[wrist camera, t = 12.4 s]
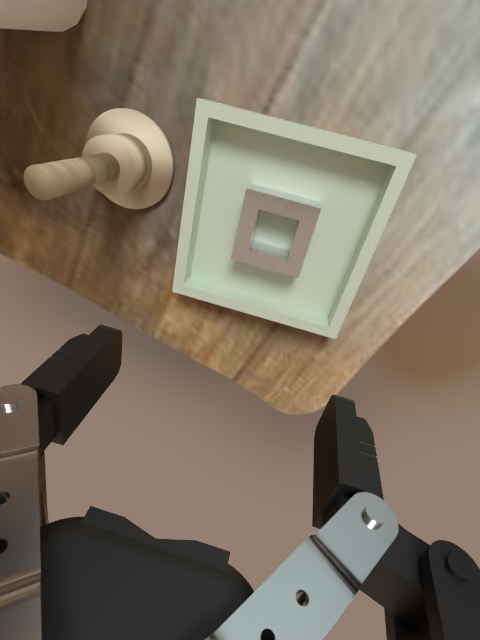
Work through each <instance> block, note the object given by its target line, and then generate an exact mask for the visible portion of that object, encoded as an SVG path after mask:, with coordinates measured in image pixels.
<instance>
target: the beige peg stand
mask: <svg viewBox="0 0 480 640" xmlns="http://www.w3.org/2000/svg"><path fill="white" fill-rule="evenodd" d="M174 168H175V166H174V156H173V152H172V148H171V146H170V143H169V141H168V139H167V137H166V135H165V134H164V132H163V131H162V129H161V128H160V127H159V126H158V125H157V123H156V122H154V121H153V120H152V119H151V118H150V117H148V116H147V115H145V114H143V113H141V112H139V111H136V110H133V109H127V108H117V109H111V110H108V111H106V112H104V113H102V114H101V115H100V116H98V117H97V118H96V119H95V120H94V122H93V123H92V125H91V126H90V128H89V130H88V133H87V136H86V142H85V147H84V149H83V153H82V157H77V158H71V159H65V160H59V161H54V162H48V163H42V164H36V165H31V166H29V167H27V168H26V170H25V172H24V183H25V186H26V188H27V189H28V191H29V192H30V193H31V195H33V196H34V197H35V198H37V199H39V200H42V201H47V200H50V199H53V198H57V197H60V196H63V195H66V194H70V193H73V192H76V191H79V190H83V189H86V188H89V187H92V186H94V187H95V188H96V189H97V190H98V191H100V192H101V193H103V194H104V195H105V196H106V197H107V198H108V199H110V200H111V201H113V202H114V203H116V204H118V205H120V206H122V207H125V208H129V209H144V208H147V207H150V206H152V205H154V204H156V203H157V202H159V201H160V200H161V199H163V197H164V196H165V195H166V194H167V192H168V191H169V189H170V187H171V185H172V181H173V177H174Z"/></svg>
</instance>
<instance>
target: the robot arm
mask: <svg viewBox="0 0 480 640" xmlns="http://www.w3.org/2000/svg"><path fill="white" fill-rule="evenodd" d="M121 355H122V332H121V330H118V329H114V328H111V327H108V326H104V325H100V326H98V327H97V328H96V329H95V330H94V331H93V332H92V333H91V334H90V335H86V334H81V335H79V336H77V337H74V338H72V339H70V340H68V341H67V342H66V343H65V344H64V345H63V346H62V347H61V348H60V350H57V351H56V352H55V353H54V354H53V355H52V357H51V358H49V359H47V361H45V362H44V363H43V364H42V365H41V366H40V367H39V368H37V369H36V370H35V371H34V372H33V373H32V374H31V375H30V376H29V377H27V378H26V379H25V380H24V381H23V382H22V383H21V384H20V385H19V384H15V385H7V386H4V387H1V388H0V640H323V639H324V638H325V636H326V635H327V633H328V632H329V631H330V629H331V628H332V627H333V625H334V624H335V622H336V621H337V620H338V618H339V617H340V615H341V614H342V613H343V612H344V610H345V609H346V607H347V606H348V605H349V603H350V602H351V600H352V599H353V598H354V596H355V595H356V594H357V592H358V590H361V591H362V592H364V593H365V594H367V595H368V596H369V597H371V598H372V599H373V600H375V601H376V602H378V603H379V604H380V605H382V606H383V607H384V609H385V622H386V635H387V640H480V569H479V568H478V566H477V564H476V563H475V562H474V560H473V559H472V558H471V557H470V556H469V555H468V554H467V553H466V552H465V551H464V550H463V549H461V548H460V547H459V546H457V545H455V544H453V543H451V542H449V541H444V540H438V541H435V542H434V543H432V545H429V544H427V543H426V542H424V541H422V540H421V539H419V538H417V537H416V536H414V535H413V534H411V533H410V532H408V531H407V530H405V529H404V528H403V527H402V526H400V525H399V524H398V521H397V518H396V516H395V514H394V512H393V510H392V509H391V508H390V506H389V505H388V504H387V503H386V502H385V501H384V499H383V493H382V487H381V481H380V474H379V468H378V462H377V458H376V456H377V455H376V449H375V447H374V446H375V443H374V437H373V432H372V430H371V428H370V427H369V425H368V423H367V421H366V420H365V419H363V418H360V417H357V416H356V410H355V403H354V401H353V400H350V399H347V398H343V397H340V396H337V395H332V396H331V397H330V399H329V401H328V403H327V405H326V408H325V410H324V412H323V414H322V416H321V418H320V420H319V422H318V425H317V427H316V431H315V437H314V476H313V525H312V526H313V527H316V528H319V529H320V530H319V531H318V532H317V533H316V534H315V535H314V536H313V535H311V536H310V537H309V538H308V539H306V540H305V542H303V543H302V544H301V545H300V546H299V548H298V549H296V551H295V552H293V553H292V554H291V556H290V557H288V558H287V560H286V561H285V562H284V563H283V564H282V565H281V566H280V567H279V568H278V569H277V570H276V571H275V572H274V573H273V574H272V575H271V576H270V577H269V578H268V579H267V580H266V581H265V582H264V583H263V584H262V585H261V586H260V587H259V588H258V589H257V590H256V591H255V592H254V590H253V589H252V587H251V586H250V584H249V583H248V582H247V580H246V579H245V578H244V577H243V576H242V575H241V574H240V573H239V572H238V571H237V570H236V569H235V568H234V567H232V566H231V565H229V564H228V560H229V555H230V552H229V551H226V550H223V549H220V548H217V547H214V546H211V545H208V544H205V543H201V542H199V541H195V540H171V539H169V540H168V539H156V538H154V537H152V536H151V535H149V534H148V533H146V532H145V531H144V530H142V529H141V528H139V527H138V526H136V525H135V524H134V523H132V522H131V521H129V520H128V519H126V518H125V517H123V516H119V515H116V514H113V513H110V512H107V511H104V510H101V509H98V508H95V507H92V506H90V508H89V510H88V511H87V513H86V515H85V517H72V518H66V519H61V520H58V521H54V522H51V523H49V521H48V510H47V494H46V472H45V453H44V450H45V449H46V447H47V446H48V445H49V444H50V443H51V442H54V443H57V444H61V445H64V443H65V442H66V441H67V439H68V438H69V437H70V436H71V434H72V433H73V432H74V431H75V429H76V428H77V427H78V425H79V424H80V423H81V422H82V420H83V419H84V418H85V416H86V415H87V414H88V412H89V411H90V410H91V409H92V407H93V406H94V405H95V403H96V402H97V401H98V400H99V398H100V397H101V396H102V394H103V393H104V392H105V390H106V389H107V388H108V387H109V385H110V384H111V383H112V381H113V380H114V379H115V377H116V376H117V374H118V372H119V369H120V366H121Z"/></svg>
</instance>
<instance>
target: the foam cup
mask: <svg viewBox="0 0 480 640" xmlns="http://www.w3.org/2000/svg"><path fill="white" fill-rule="evenodd" d="M86 7H87V0H0V28H3V29H19V30H35V31H51V32H59V31H60V32H64V31H65V30H67V29H69V28H71V27H73V26H75V25H77V24H78V22H79V20H80V18H81V16H82V15H83V13H84V11H85V9H86Z"/></svg>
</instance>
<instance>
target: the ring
mask: <svg viewBox="0 0 480 640" xmlns="http://www.w3.org/2000/svg"><path fill="white" fill-rule="evenodd" d="M261 210H263V211H267V212H270V213H274V214H277V215H281V216H285V217H288V218H292V219H296V220H299V223H298V226H297V229H296V232H295V236H294V239H293V242H292V245H291V249H290V250H286V249H283V248H279V247H275V246H272V245H268V244H265V243H261V242H258V241H254V236H255V232H256V228H257V224H258V220H259V216H260V212H261ZM320 211H321V202H320V201H316V200H313V199H309V198H305V197H301V196H298V195H294V194H290V193H287V192H283V191H279V190H276V189H272V188H268V187H264V186H261V185H257V184H253V183H251V184H250V185H249V186H248V187H247V188H246V191H245V196H244V201H243V205H242V210H241V214H240V219H239V224H238V228H237V233H236V237H235V242H234V247H233V251H232V256H231V259H232V260H235V261H239V262H242V263H246V264H250V265H253V266H257V267H260V268H264V269H267V270H271V271H274V272H278V273H281V274H285V275H288V276H292V277H295V278H298V277H299V274H300V271H301V268H302V265H303V262H304V259H305V256H306V253H307V250H308V247H309V244H310V241H311V238H312V235H313V232H314V229H315V226H316V223H317V220H318V217H319V214H320Z"/></svg>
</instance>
